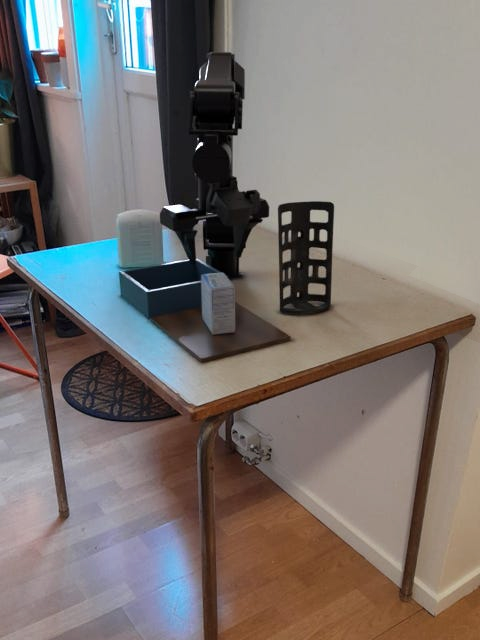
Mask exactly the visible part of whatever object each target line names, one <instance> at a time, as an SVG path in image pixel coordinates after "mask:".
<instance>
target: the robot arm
mask: <svg viewBox="0 0 480 640" xmlns="http://www.w3.org/2000/svg"><path fill="white" fill-rule="evenodd" d="M205 59H206V61H205V63H204V64H203V65H202V66H201V67H199V80H197V81H196V82H195V84H194V87H193V91H190V92H189V111H188V112H189V114H188V135H190V136H198V137H197V146H196V148H195V151H194V153H193V155H192V159H191V165H192V170H193V172H194V181H195V182H198V185H197V186H198V198H194V202H195V203H194V204H195V206H197V207H198V208H193V209H190V207H187V206H186V205H182V204H175V205H169V206H163V207H162V208H161V210H160V212H159V214H160V224H162V226H164V227H166V228H167V229H169V230H171V231H173V232H174V234H175V235H176V236H177V238H178V239H179V241H180V243H181V246H182V248H183V250H184V253H185V254H186V258H187V260H188V259H189V261H190V264H191V265H192V266H196V258H197V251H196V236H197V234H198V229H196V228H194V227H195V226H196V225H197V222H198V221H202V243H203V244H202V245H203V251H206V250H207V254H206V255H205V263H206V264H208V265H210V266H211V267H213V268H215V269H216V270H218V271H220V272H222V273H224V274H225V275H227V276H229V280H232V279H236V278H242V277H243V276H244V273H242V272H240V258H241V257H242V255H243V252H244V250H245V249H246V248H247V241H248V239H249V236H250V234H251V232H252V230H253V229H254V228H255V227H256V226H257V225H258V224H262V222H263V221H264V220H263V219H267V218H269V217H270V204H269V202H268V201H267V200H266V199H265V198H262V197H261V193H260V192H259V191H258V190H257V189H250V190H248V189H247V190H246V191H245V190H242V191H240V189H239V188H238V180H237V178H238V177H237V176H234V136H235V137H236V136H239V130H242V129H243V111H244V110H243V108H244V104H243V103H244V100H246V99H245V98H246V97H245V96H246V72H245V71H246V70H245V68H244V67H243V66H241V64H240V63H238V62H237V60H236V55H235V53H232V52H231V51H210V52H209V53H206V57H205Z"/></svg>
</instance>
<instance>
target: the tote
mask: <svg viewBox="0 0 480 640" xmlns="http://www.w3.org/2000/svg"><path fill="white" fill-rule="evenodd" d="M210 273H222V272H220V271H218V270H216V269H215V268H213V267H211V266H210V265H208V264H206V262H204V261H203V260H201V259H199V258H197V257H196V266H192V265H191V264H190V261H189V259H188V258H187V259H183V260H177V261H170V262H165V263H164V264H159V265H153V266H145V267H134V268H129V269H124V270H119V271H118V278H119V291H120V297H121V298H122V299H123V300H125V301H126V302H127V303H128V304H129V305H131V306H132V307H133V308H134V309H136V311H138V312H139V313H140V314H141V315H143V316H144V317H145V318H147V319H148V320H150V318H152V317H156V316H161V315H166V314H171V313H176V312H181V311H185V310H190V309H195V308H200V307H202V293H201V275H204V274H210ZM226 276H227V275H226ZM227 278H228V279H229V276H227ZM229 280H230V279H229Z"/></svg>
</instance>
